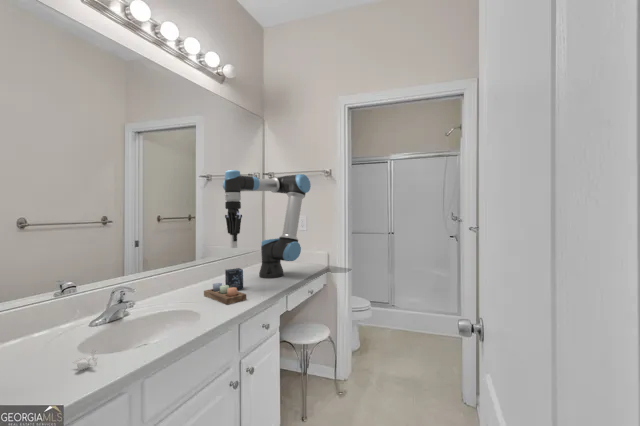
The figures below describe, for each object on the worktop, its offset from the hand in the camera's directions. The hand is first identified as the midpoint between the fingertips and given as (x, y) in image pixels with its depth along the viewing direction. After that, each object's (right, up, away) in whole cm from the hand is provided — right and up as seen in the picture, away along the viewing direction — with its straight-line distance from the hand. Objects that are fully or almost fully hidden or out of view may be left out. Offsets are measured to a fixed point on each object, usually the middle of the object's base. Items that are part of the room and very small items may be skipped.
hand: (234, 247), depth 159 cm
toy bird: (-18, -24, -76) cm, 82 cm away
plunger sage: (-2, -21, -10) cm, 23 cm away
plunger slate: (-7, -21, -5) cm, 23 cm away
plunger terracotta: (+3, -21, -15) cm, 26 cm away
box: (-1, -23, +5) cm, 23 cm away
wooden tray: (-2, -23, -10) cm, 25 cm away
